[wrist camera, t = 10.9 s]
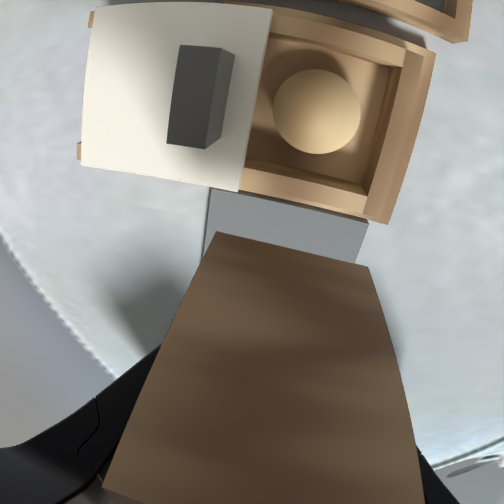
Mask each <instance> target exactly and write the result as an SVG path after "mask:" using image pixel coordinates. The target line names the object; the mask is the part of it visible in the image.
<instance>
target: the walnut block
mask: <svg viewBox="0 0 504 504" xmlns="http://www.w3.org/2000/svg"><path fill="white" fill-rule="evenodd" d="M102 488H103V489H104V491H105V492H106V493H107V495H108V496H109V497H110V498H111V500H112V501H113V502H114V503H115V504H425V501H424V493H423V486H422V479H421V472H420V466H419V460H418V454H417V449H416V443H415V438H414V433H413V428H412V423H411V418H410V414H409V409H408V404H407V400H406V396H405V391H404V387H403V383H402V379H401V375H400V371H399V367H398V364H397V360H396V356H395V352H394V349H393V345H392V342H391V338H390V335H389V331H388V328H387V324H386V321H385V318H384V314H383V311H382V308H381V305H380V302H379V298H378V295H377V292H376V289H375V286H374V283H373V280H372V277H371V274H370V271H369V268H368V267H366V266H362V265H358V264H354V263H350V262H345V261H341V260H337V259H333V258H329V257H325V256H320V255H316V254H312V253H308V252H304V251H299V250H295V249H291V248H287V247H283V246H278V245H274V244H270V243H266V242H261V241H257V240H253V239H248V238H244V237H240V236H235V235H231V234H227V233H222V232H218V231H216V232H215V234H214V236H213V238H212V240H211V242H210V244H209V246H208V248H207V250H206V252H205V254H204V256H203V258H202V261H201V263H200V265H199V267H198V269H197V271H196V273H195V275H194V277H193V279H192V281H191V283H190V285H189V287H188V289H187V292H186V294H185V296H184V298H183V300H182V302H181V304H180V306H179V308H178V311H177V313H176V315H175V317H174V319H173V321H172V323H171V326H170V328H169V330H168V332H167V334H166V336H165V339H164V341H163V343H162V345H161V347H160V350H159V352H158V354H157V356H156V358H155V361H154V363H153V365H152V367H151V370H150V372H149V374H148V376H147V379H146V381H145V383H144V386H143V388H142V390H141V392H140V395H139V397H138V399H137V402H136V404H135V406H134V409H133V411H132V413H131V416H130V418H129V420H128V423H127V425H126V428H125V430H124V432H123V435H122V437H121V440H120V442H119V444H118V447H117V449H116V452H115V454H114V457H113V459H112V462H111V464H110V467H109V469H108V472H107V474H106V477H105V479H104V482H103V485H102Z"/></svg>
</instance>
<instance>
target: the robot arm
mask: <svg viewBox="0 0 504 504" xmlns="http://www.w3.org/2000/svg"><path fill="white" fill-rule="evenodd" d="M162 343H163V342H162ZM162 343H161V344H160V345H159V346H157V347H156V348H155V349H154V350H152V351H151V352H150V353H149V354H148V355H146V356H145V357H144V358H143V359H141V360H140V361H139V362H138V363H136V364H135V365H134V366H133V367H131V368H130V369H129V370H128V371H126V372H125V373H124V374H123V375H121V376H120V377H119V378H118V379H116V380H115V381H114V382H113V383H111V384H110V385H109V386H108V387H106V388H105V389H104V390H103V391H101V392H100V393H99V394H98V395H96V398H92V399H91V400H90V401H89V402H88V403H86V404H85V405H84V406H82V407H81V408H80V409H78V410H77V411H76V412H74V413H73V414H71V415H70V416H68V417H67V418H65V419H63V420H62V421H60V422H59V423H57V424H55V425H54V426H52V427H50V428H48V429H47V430H45V431H43V432H42V433H40V434H38V435H36V436H35V437H33V438H31V439H29V440H28V441H26V442H24V443H21V444H19V445H16V446H12V447H6V448H0V504H115V503H114V502H113V501H112V500H111V498H110V497H109V496H108V495H107V493H106V492H105V491H104V489H103V488H102V485H103V482H104V479H105V477H106V474H107V472H108V469H109V467H110V464H111V462H112V459H113V457H114V454H115V452H116V449H117V447H118V444H119V442H120V440H121V437H122V435H123V432H124V430H125V428H126V425H127V423H128V420H129V418H130V416H131V413H132V411H133V409H134V406H135V404H136V402H137V399H138V397H139V395H140V392H141V390H142V388H143V386H144V383H145V381H146V379H147V376H148V374H149V372H150V370H151V367H152V365H153V363H154V361H155V358H156V356H157V354H158V352H159V350H160V347H161V345H162ZM416 449H417V454H418V460H419V466H420V472H421V479H422V486H423V493H424V501H425V504H460V503H459V502H458V501H457V499H456V498H455V497H454V496H453V494H452V493H451V492H450V491H449V490H448V489H447V487H446V486H445V485H444V484H443V482H442V481H441V480H440V478H439V477H438V476H437V475H436V473H435V472H434V470H433V469H432V467H431V466H430V465H429V463H428V462H427V460H426V459H425V457H424V456H423V455H421V451H420V450H419V448H418V447H417V445H416Z"/></svg>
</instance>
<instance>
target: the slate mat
mask: <svg viewBox="0 0 504 504" xmlns="http://www.w3.org/2000/svg"><path fill="white" fill-rule="evenodd" d="M368 225H369V223H368V221H367V220H364V219H360V218H356V217H352V216H348V215H344V214H340V213H336V212H332V211H328V210H324V209H320V208H316V207H311V206H307V205H303V204H298V203H294V202H290V201H285V200H281V199H276V198H272V197H267V196H262V195H258V194H253V193H248V192H243V191H238V192H234V191H229V190H224V189H219V188H214V187H212V189H211V197H210V204H209V212H208V220H207V228H206V236H205V245H204V253H203V256H204V254H205V252H206V250H207V248H208V246H209V244H210V242H211V240H212V238H213V236H214V234H215V232H216V231H218V232H222V233H227V234H231V235H235V236H240V237H244V238H248V239H253V240H257V241H261V242H266V243H270V244H274V245H278V246H283V247H287V248H291V249H295V250H299V251H304V252H308V253H312V254H316V255H320V256H325V257H329V258H333V259H337V260H341V261H345V262H350V263H355V261H356V258H357V255H358V253H359V250H360V247H361V245H362V242H363V239H364V236H365V234H366V231H367V228H368Z"/></svg>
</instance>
